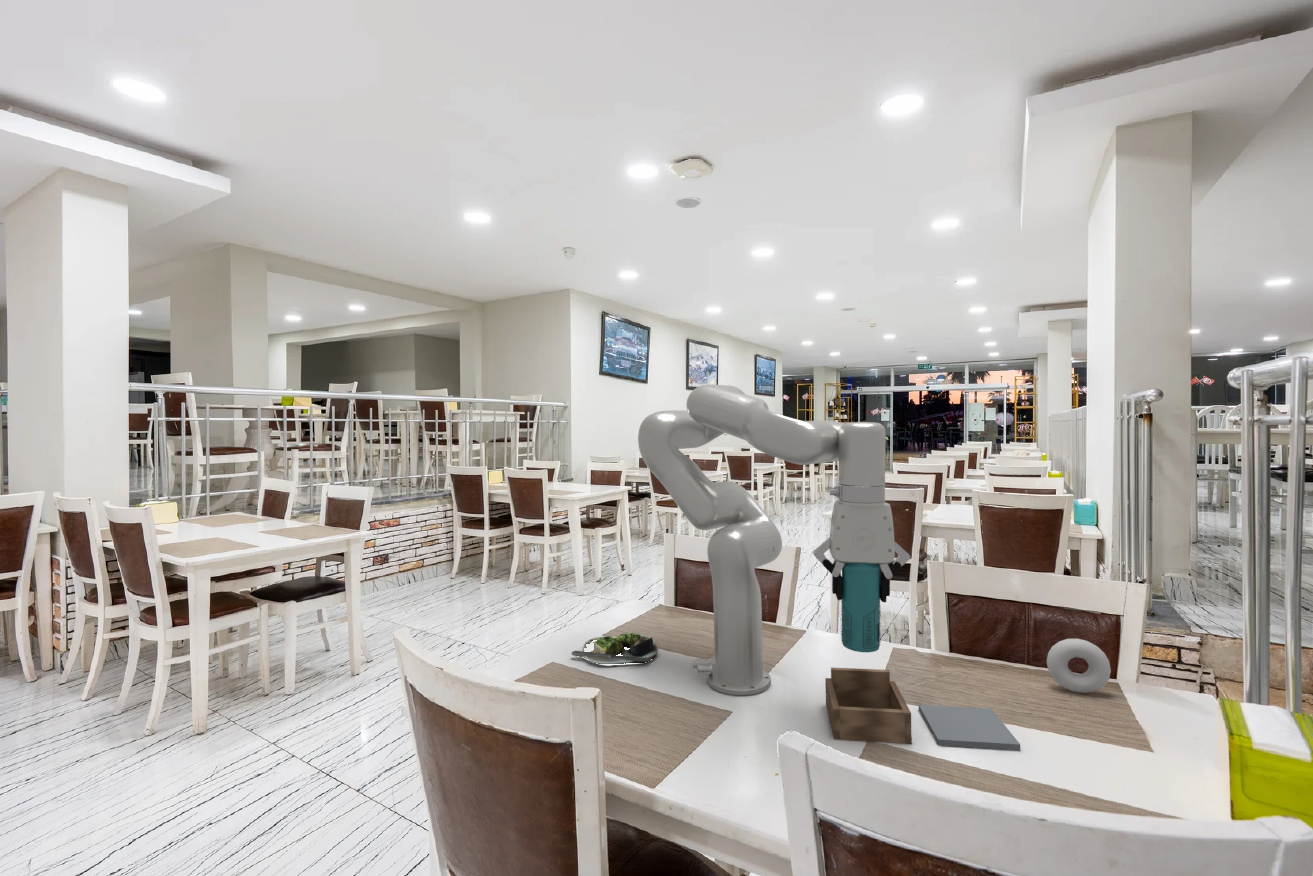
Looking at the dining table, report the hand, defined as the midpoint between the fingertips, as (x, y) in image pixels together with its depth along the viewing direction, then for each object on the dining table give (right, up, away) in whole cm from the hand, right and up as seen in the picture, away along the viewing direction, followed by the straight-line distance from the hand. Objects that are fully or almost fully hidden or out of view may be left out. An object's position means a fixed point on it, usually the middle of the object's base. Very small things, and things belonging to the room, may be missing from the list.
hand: (860, 598), depth 103 cm
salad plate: (-43, -22, +35) cm, 59 cm away
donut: (+44, -20, +10) cm, 50 cm away
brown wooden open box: (+1, -21, 0) cm, 21 cm away
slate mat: (+17, -21, -3) cm, 27 cm away
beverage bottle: (0, -10, 0) cm, 10 cm away
